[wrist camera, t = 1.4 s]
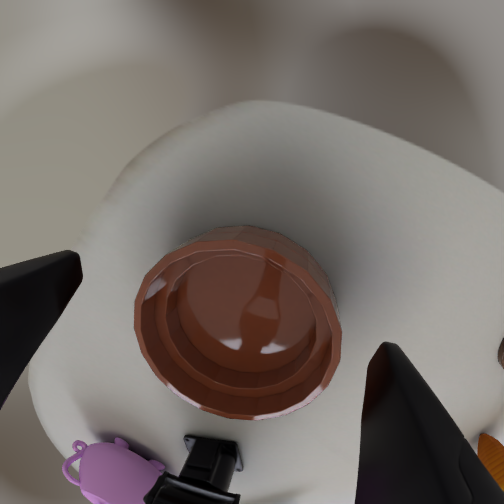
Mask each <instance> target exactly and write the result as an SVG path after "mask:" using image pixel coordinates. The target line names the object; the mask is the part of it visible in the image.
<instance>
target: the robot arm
mask: <svg viewBox="0 0 504 504" xmlns="http://www.w3.org/2000/svg"><path fill="white" fill-rule="evenodd" d="M82 279H83V273H82V267H81V261H80V256H79V254H78V253H76V252H74V251H71V250H65V251H61V252H57V253H53V254H49V255H46V256H42V257H38V258H34V259H31V260H27V261H23V262H20V263H16V264H13V265H10V266H6V267H2V268H0V410H1V408H2V406H3V404H4V402H5V401H6V399H7V397H8V395H9V394H10V392H11V390H12V389H13V387H14V385H15V384H16V382H17V380H18V379H19V377H20V375H21V374H22V372H23V371H24V369H25V367H26V366H27V364H28V363H29V361H30V360H31V358H32V357H33V355H34V354H35V352H36V351H37V349H38V348H39V346H40V345H41V343H42V342H43V340H44V339H45V337H46V336H47V335H48V333H49V332H50V330H51V329H52V328H53V326H54V325H55V323H56V322H57V320H58V319H59V318H60V316H61V314H62V313H63V311H64V309H65V308H66V306H67V304H68V303H69V301H70V300H71V298H72V296H73V295H74V293H75V292H76V290H77V289H78V287H79V285H80V284H81V282H82ZM183 439H184V442H185V444H186V446H187V449H188V451H189V455H188V457H187V459H186V461H185V464H184V466H183V468H182V470H181V472H180V475H179V477H177V476H175V475H172V474H169V472H166V471H165V472H164V473H163V475H159V477H158V479H157V481H156V483H155V484H154V486H153V487H152V488H151V489H150V490H149V492H148V493H147V494H146V495H145V496H144V498H143V501H144V503H145V504H239V500H240V496H241V495H240V494H233V493H229V492H228V489H229V485H230V482H231V479H232V475H233V472H234V471H238V472H241V471H243V465H242V461H241V457H240V453H239V449H238V444H237V443H236V442H232V441H223V440H215V439H208V438H201V437H195V436H189V435H185V436H184V438H183ZM355 504H504V492H503V490H502V489H501V487H500V486H499V485H498V483H497V482H496V481H495V480H494V478H493V477H492V476H491V474H490V473H489V472H488V470H487V469H486V467H485V466H484V465H483V463H482V462H481V461H480V459H479V458H478V456H477V455H476V453H475V452H474V450H473V449H472V447H471V446H470V444H469V443H468V441H467V440H466V439H465V438H464V435H463V434H462V432H461V431H460V429H459V428H458V426H457V425H456V423H455V422H454V421H453V419H452V418H451V416H450V415H449V413H448V412H447V411H446V409H445V408H444V406H443V405H442V403H441V402H440V401H439V399H438V398H437V396H436V395H435V394H434V392H433V391H432V390H431V388H430V387H429V385H428V384H427V383H426V381H425V380H424V379H423V377H422V376H421V375H420V373H419V372H418V371H417V369H416V368H415V367H414V365H413V364H412V363H411V361H410V360H409V359H408V357H407V356H406V355H405V354H404V352H403V351H402V350H401V348H400V347H399V346H398V345H397V344H395V343H390V342H383V343H382V344H381V345H380V346H379V348H378V349H377V351H376V353H375V354H374V356H373V357H372V359H371V360H370V362H369V365H368V368H367V377H366V386H365V394H364V402H363V409H362V418H361V439H360V455H359V468H358V479H357V489H356V497H355Z"/></svg>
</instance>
